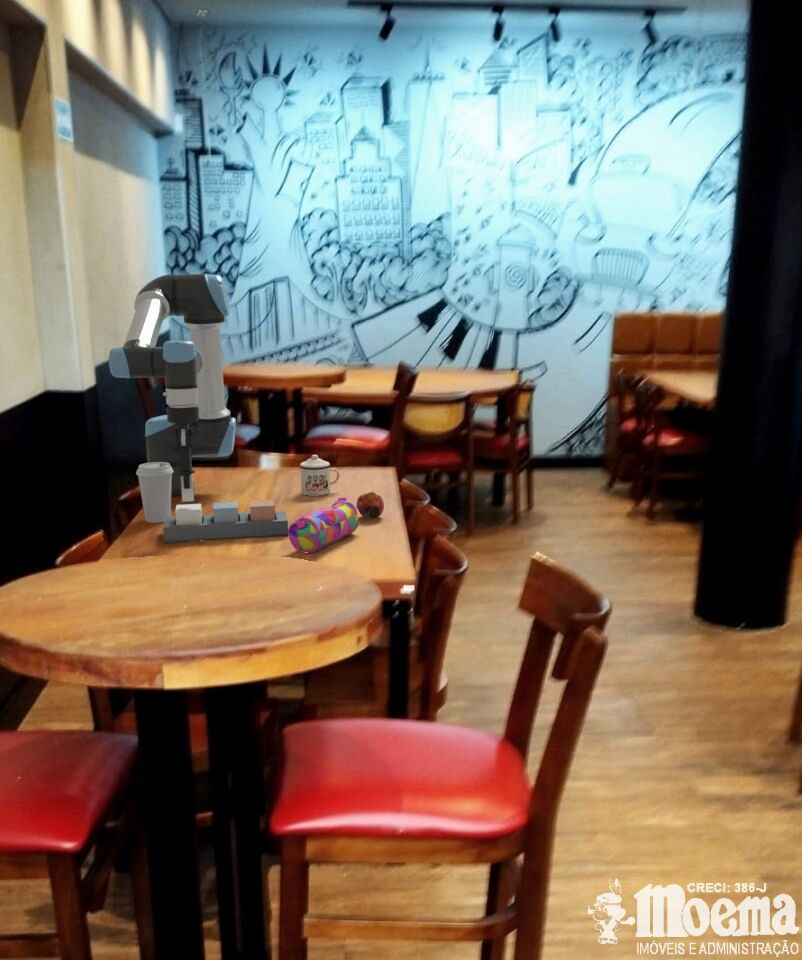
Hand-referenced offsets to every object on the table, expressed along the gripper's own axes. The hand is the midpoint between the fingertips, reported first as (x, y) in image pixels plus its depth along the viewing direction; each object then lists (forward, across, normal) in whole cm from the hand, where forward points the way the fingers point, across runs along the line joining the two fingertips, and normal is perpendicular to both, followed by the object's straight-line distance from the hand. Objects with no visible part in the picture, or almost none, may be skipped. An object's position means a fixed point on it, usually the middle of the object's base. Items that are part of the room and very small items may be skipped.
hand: (187, 500), depth 212 cm
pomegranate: (+9, -8, +47) cm, 49 cm away
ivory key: (+6, 0, 0) cm, 6 cm away
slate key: (+6, 0, +9) cm, 11 cm away
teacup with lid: (+9, -40, +37) cm, 55 cm away
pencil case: (+10, +12, +32) cm, 36 cm away
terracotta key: (+6, 0, +18) cm, 19 cm away
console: (+9, 0, +9) cm, 13 cm away
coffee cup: (+9, -18, -9) cm, 22 cm away
